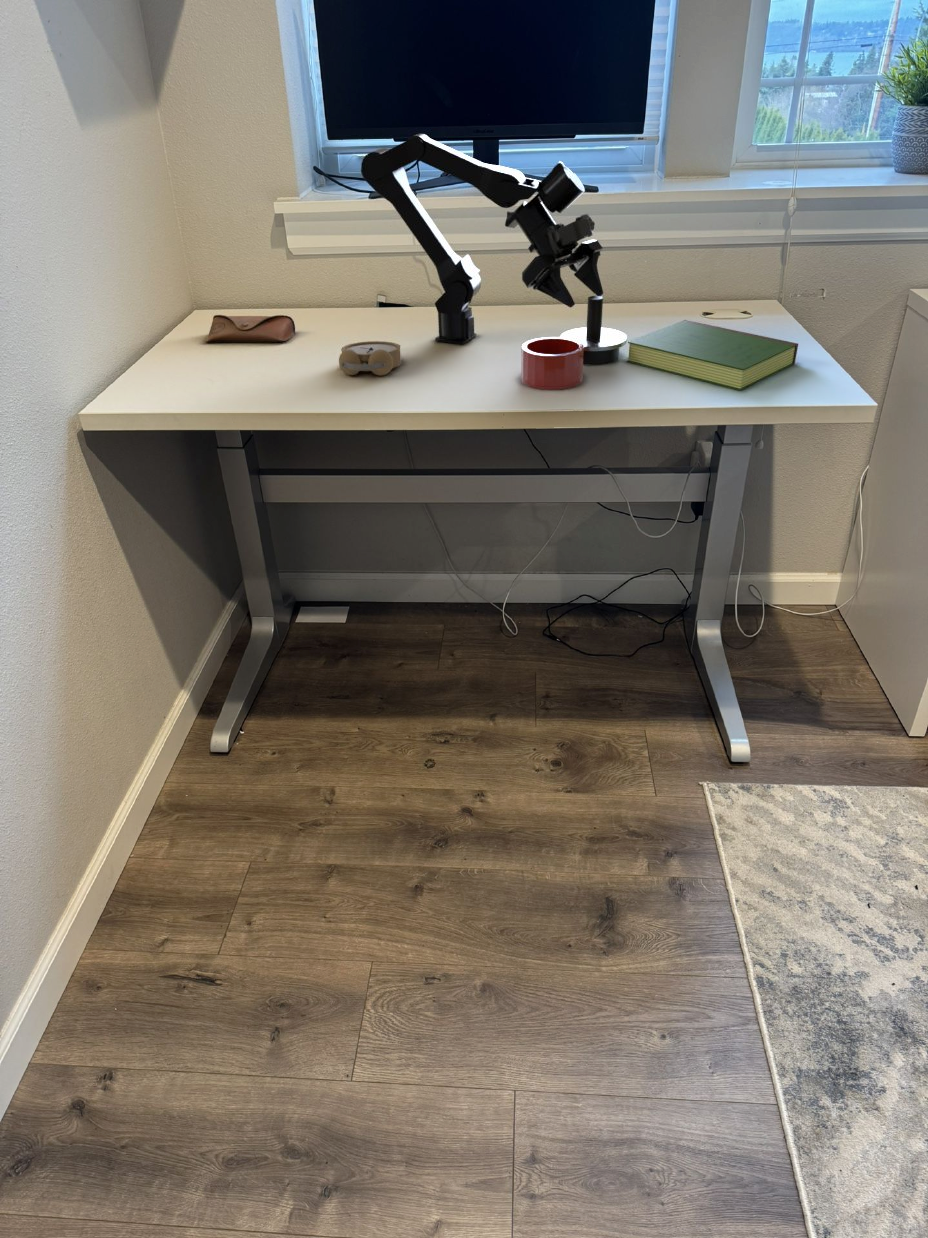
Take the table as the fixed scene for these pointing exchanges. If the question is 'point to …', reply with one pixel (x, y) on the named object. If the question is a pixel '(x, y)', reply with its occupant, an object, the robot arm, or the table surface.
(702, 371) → the hardcover book
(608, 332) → the lid
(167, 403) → the table surface
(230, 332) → the sunglasses case
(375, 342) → the alarm clock
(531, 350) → the red faceted pot
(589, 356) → the stand
